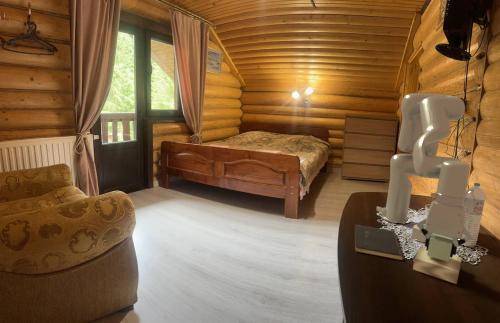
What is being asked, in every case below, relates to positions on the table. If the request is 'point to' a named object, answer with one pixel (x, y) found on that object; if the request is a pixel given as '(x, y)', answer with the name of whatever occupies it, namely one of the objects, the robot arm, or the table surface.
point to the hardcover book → (377, 242)
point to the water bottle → (473, 212)
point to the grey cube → (418, 234)
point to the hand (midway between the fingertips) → (439, 252)
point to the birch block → (437, 266)
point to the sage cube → (440, 247)
